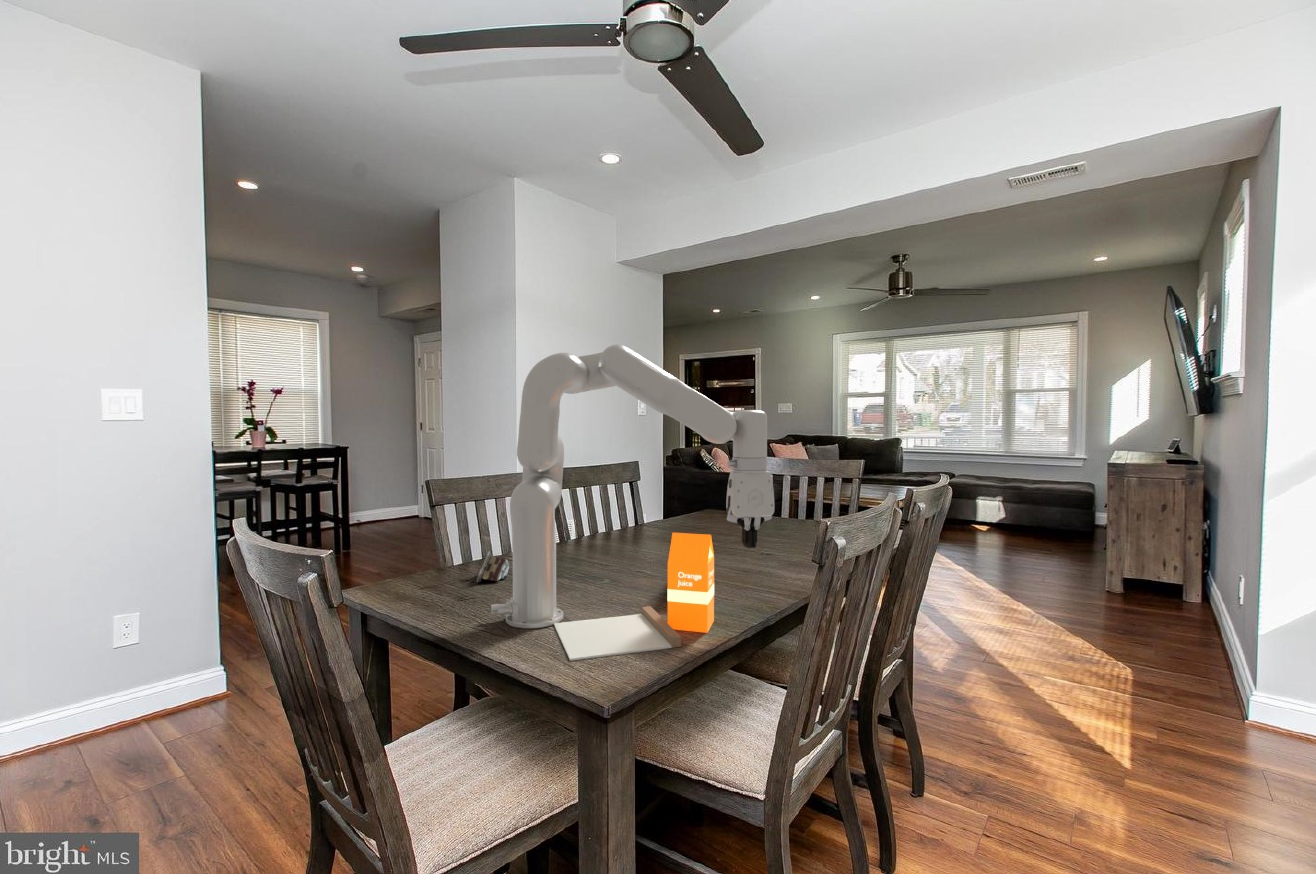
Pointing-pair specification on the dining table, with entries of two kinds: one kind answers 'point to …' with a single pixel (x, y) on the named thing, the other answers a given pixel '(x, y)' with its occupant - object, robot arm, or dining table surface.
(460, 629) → the dining table surface
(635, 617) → the mat
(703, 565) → the orange juice
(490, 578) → the chocolate cake
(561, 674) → the dining table surface
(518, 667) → the dining table surface
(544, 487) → the robot arm
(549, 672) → the dining table surface
